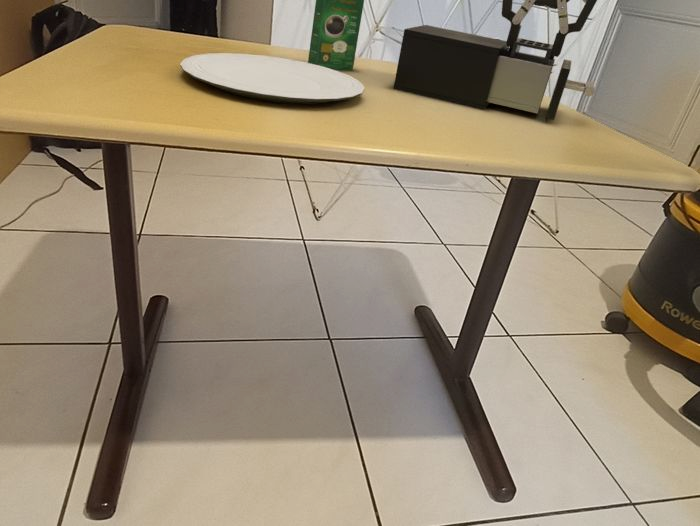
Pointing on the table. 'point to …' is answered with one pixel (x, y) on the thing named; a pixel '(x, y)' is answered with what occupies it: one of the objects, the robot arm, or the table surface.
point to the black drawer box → (448, 65)
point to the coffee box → (335, 33)
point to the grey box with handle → (530, 83)
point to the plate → (272, 78)
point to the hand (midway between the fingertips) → (531, 54)
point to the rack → (531, 44)
